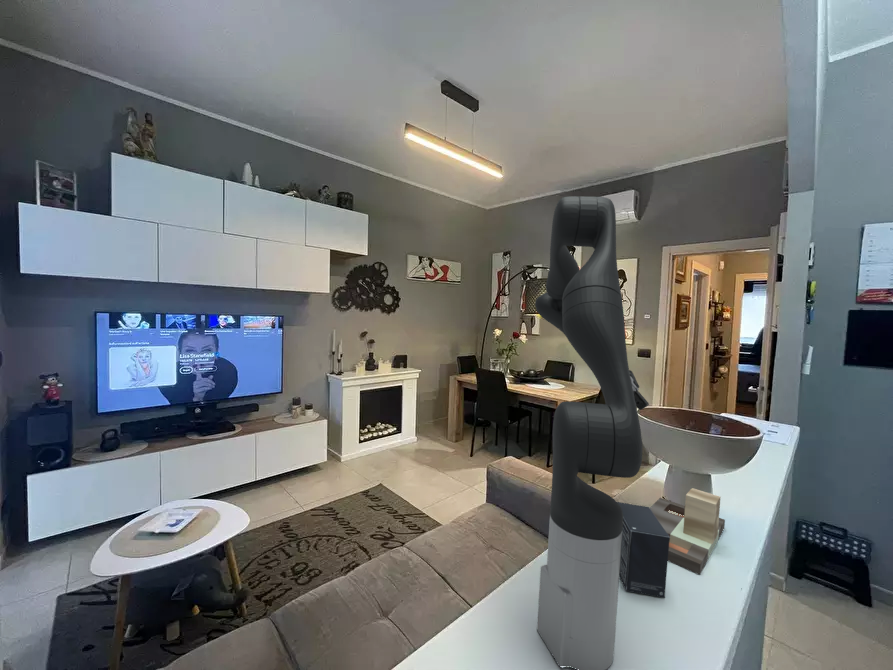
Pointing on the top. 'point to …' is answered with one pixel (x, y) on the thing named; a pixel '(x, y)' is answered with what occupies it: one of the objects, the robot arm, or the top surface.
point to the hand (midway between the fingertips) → (644, 407)
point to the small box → (643, 551)
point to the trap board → (676, 554)
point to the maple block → (701, 515)
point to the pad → (689, 539)
